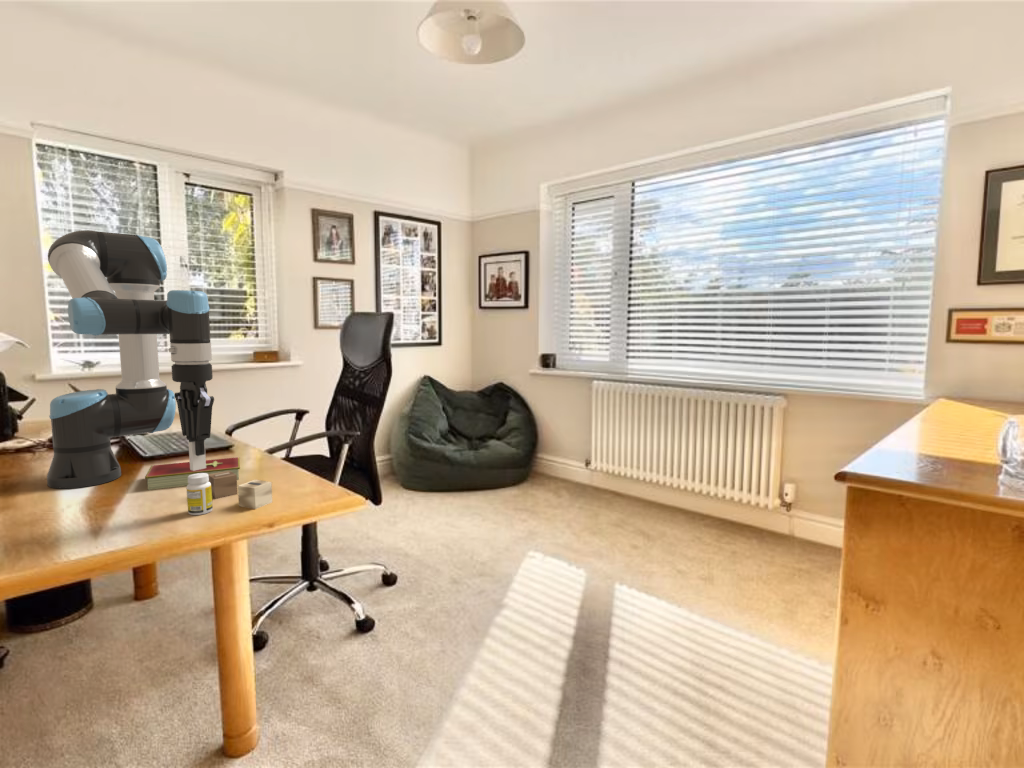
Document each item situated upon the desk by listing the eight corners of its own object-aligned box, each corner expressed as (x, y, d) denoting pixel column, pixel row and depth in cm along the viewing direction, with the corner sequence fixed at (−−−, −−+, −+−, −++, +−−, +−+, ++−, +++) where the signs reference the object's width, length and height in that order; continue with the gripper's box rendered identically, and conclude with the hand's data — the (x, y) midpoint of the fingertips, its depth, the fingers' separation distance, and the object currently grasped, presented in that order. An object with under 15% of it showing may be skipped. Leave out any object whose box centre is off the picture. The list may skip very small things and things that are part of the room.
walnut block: (208, 494, 130) (207, 474, 129) (230, 489, 133) (229, 470, 133) (215, 499, 126) (214, 478, 126) (237, 494, 130) (236, 474, 129)
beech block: (238, 506, 122) (237, 485, 121) (256, 499, 126) (255, 479, 126) (255, 509, 120) (254, 487, 119) (272, 502, 125) (271, 481, 124)
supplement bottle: (207, 506, 121) (205, 471, 120) (216, 511, 118) (214, 475, 117) (184, 512, 117) (182, 475, 116) (192, 517, 114) (190, 480, 113)
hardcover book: (152, 479, 142) (151, 464, 141) (240, 470, 151) (239, 455, 151) (146, 492, 131) (144, 476, 131) (240, 481, 141) (239, 466, 140)
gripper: (159, 362, 114) (166, 467, 117) (187, 365, 107) (194, 478, 110) (195, 360, 120) (201, 460, 123) (224, 363, 113) (230, 470, 116)
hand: (198, 468), depth 116 cm, fingers closed
